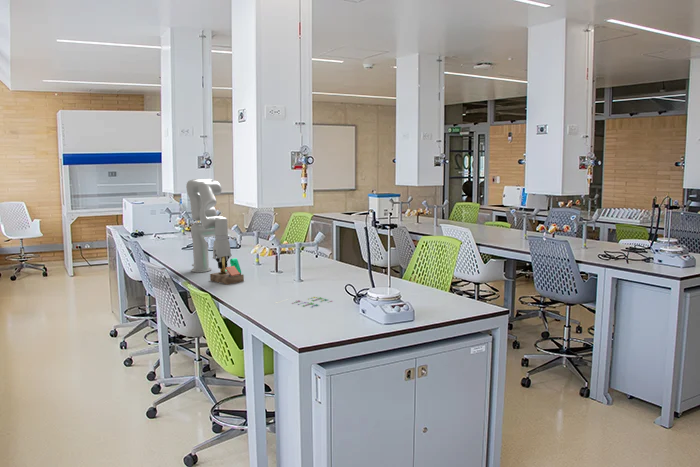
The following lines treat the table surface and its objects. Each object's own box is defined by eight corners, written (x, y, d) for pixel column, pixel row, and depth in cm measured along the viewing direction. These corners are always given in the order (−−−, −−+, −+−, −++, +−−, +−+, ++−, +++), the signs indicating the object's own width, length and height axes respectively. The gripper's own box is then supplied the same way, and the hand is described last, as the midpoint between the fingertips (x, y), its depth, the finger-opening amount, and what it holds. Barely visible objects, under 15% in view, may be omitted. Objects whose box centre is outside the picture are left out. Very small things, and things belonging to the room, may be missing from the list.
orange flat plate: (225, 268, 338) (225, 267, 337) (233, 267, 342) (233, 265, 342) (231, 276, 334) (231, 275, 334) (239, 274, 339) (240, 273, 338)
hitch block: (210, 280, 344) (210, 271, 343) (226, 277, 353) (226, 268, 352) (227, 284, 333) (226, 275, 332) (243, 281, 342) (243, 272, 341)
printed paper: (312, 293, 311) (312, 290, 311) (355, 302, 292) (355, 300, 292) (272, 303, 288) (272, 301, 288) (315, 315, 269) (315, 312, 269)
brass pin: (219, 275, 345) (218, 255, 343) (223, 274, 347) (222, 254, 345) (222, 275, 343) (221, 256, 341) (226, 274, 345) (225, 255, 343)
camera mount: (221, 274, 364) (220, 258, 363) (232, 272, 369) (231, 256, 367) (230, 277, 355) (229, 260, 353) (241, 275, 360) (240, 259, 358)
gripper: (229, 236, 351) (230, 265, 353) (206, 238, 338) (207, 269, 341) (236, 237, 346) (237, 266, 348) (213, 239, 334) (215, 270, 336)
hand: (222, 267), depth 344 cm, fingers closed on brass pin, 3 cm apart
